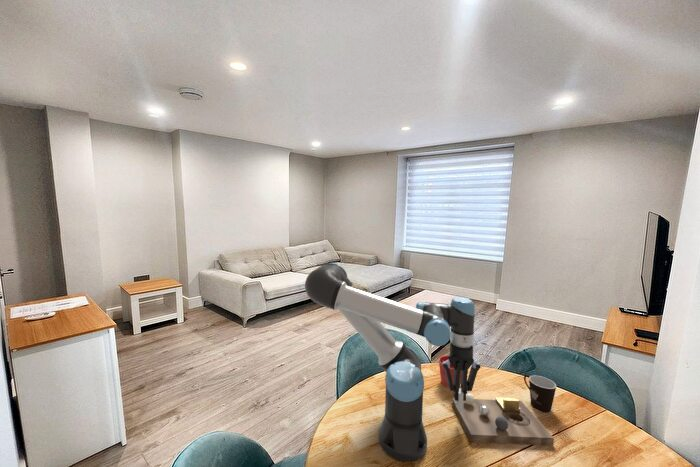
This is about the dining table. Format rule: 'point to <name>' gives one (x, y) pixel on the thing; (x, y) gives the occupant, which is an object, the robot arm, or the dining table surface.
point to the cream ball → (469, 399)
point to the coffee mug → (541, 392)
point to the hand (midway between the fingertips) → (459, 408)
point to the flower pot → (443, 373)
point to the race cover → (508, 404)
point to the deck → (488, 432)
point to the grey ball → (501, 423)
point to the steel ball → (484, 411)
